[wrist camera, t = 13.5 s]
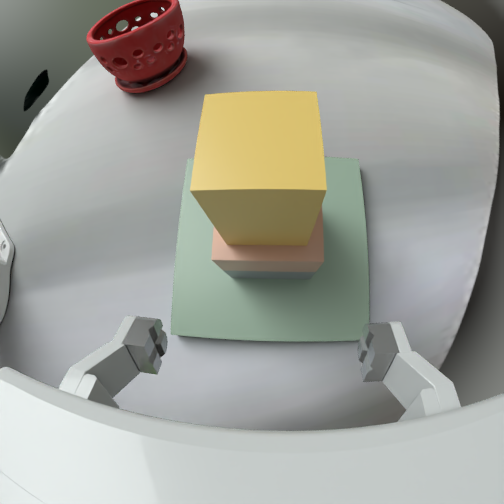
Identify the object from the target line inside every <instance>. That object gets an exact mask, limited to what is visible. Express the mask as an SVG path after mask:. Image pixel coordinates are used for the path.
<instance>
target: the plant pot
mask: <svg viewBox="0 0 504 504" xmlns="http://www.w3.org/2000/svg"><path fill="white" fill-rule="evenodd" d="M161 7H163V8H164V9H165V11H163V10H162V9H161ZM152 12H154V13H157V14H158V17H156V18H153V17H151V15H150V14H151V13H152ZM137 16H140V17H141V20H139V21H136V20H135V18H136V17H137ZM121 20H126V21H128V27H127V28H126V29H125V30H124V31H117V30H116V24H117V23H118V22H119V21H121ZM135 26H138V27H139V28H137V29H135V30H133V31H131V29H132V28H133V27H135ZM109 29H112V33H111V34H108V30H109ZM184 36H185V35H184V21H183V15H182V11H181V8H180V4H179V1H178V0H136V1H133V2H131V3H129V4H126V5H124V6H121V7H120V8H118V9H116V10H114V11H112V12H111V13H109V14H107V15H106V16H105V17H103V18H102V19H101V20H99V21H98V22H97V23H96V24H95V25H94V26H93V27H92V28H91V30H90V31H89V32H88V34H87V42H88V45H89V47H90V48H91V50H92V52H93V54H94V55H95V57H96V58H97V59H98V61H99V62H100V63H101V65H102V66H103V67H104V68H105V69H106V70H107V71H108V72H110V73H111V74H112V75H114V76H115V82H116V85H117V86H118V87H119V88H120V89H121V90H123V91H126V92H130V93H141V92H146V91H150V90H153V89H156V88H158V87H160V86H162V85H164V84H166V83H167V82H169V81H170V80H172V79H173V78H174V77H175V76H176V75H177V74H178V73H179V72H180V71H181V70H182V68H183V67H184V65H185V63H186V61H187V52H186V49H185V48H184V47H183V45H184ZM101 37H102V38H103V40H100V38H101Z"/></svg>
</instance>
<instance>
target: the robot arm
mask: <svg viewBox="0 0 504 504" xmlns="http://www.w3.org/2000/svg"><path fill="white" fill-rule="evenodd" d="M13 255H14V245H13V243H12V242H11V240H10V238H9V236H8V234H7V233H6V231H5V229H4V227H3V225H2V223H1V221H0V323H1V321H2V319H3V316H4V314H5V310H6V307H7V302H8V296H9V285H10V267H11V263H12V259H13ZM162 326H163V325H162V322H161V320H160V319H154V318H146V317H139V316H138V317H137V316H130V315H128V316H126V317H125V318H124V320H123V322H122V324H121V325H120V327H119V329H118V331H117V333H116V334H115V336H114V338H113V340H112V342H108V343H106V344H105V345H103V346H101V347H100V348H98V349H97V350H95V351H94V352H92V353H91V354H89V355H88V356H86V357H85V358H83V359H82V360H80V361H79V362H77V363H76V364H74V365H73V366H71V367H70V368H69V370H68V372H67V373H66V375H65V377H64V379H63V381H62V383H61V385H60V386H59V388H58V389H57V388H55V387H52V386H50V385H47V384H45V383H42V382H40V381H38V380H35V379H33V378H31V377H29V376H27V375H24V374H22V373H20V372H18V371H16V370H14V369H12V368H10V367H3V368H1V369H0V504H504V393H502V394H499V395H496V396H494V397H491V398H488V399H485V400H483V401H479V402H476V403H473V404H470V405H467V406H464V407H461V405H460V403H459V399H458V396H457V393H456V391H455V388H454V385H453V383H452V382H451V381H450V380H449V379H448V378H447V377H446V376H444V375H443V374H442V373H441V372H439V371H438V370H437V369H436V368H435V367H434V366H432V365H431V364H430V363H429V362H428V361H426V360H425V359H424V358H423V357H421V356H420V355H419V354H418V353H417V352H415V351H412V350H411V347H410V345H409V342H408V339H407V337H406V334H405V331H404V329H403V326H402V324H401V322H400V321H399V322H384V323H369V324H365V325H364V326H363V329H362V332H363V336H362V337H360V339H359V343H358V358H359V361H361V362H362V363H363V364H362V367H361V373H362V378H363V382H373V381H382V382H383V383H384V384H385V385H386V387H387V388H388V389H389V390H390V391H391V392H392V394H393V395H394V396H395V397H396V398H397V399H398V401H399V402H400V403H401V404H402V405H403V406H404V408H405V409H406V412H405V413H404V414H403V415H402V417H401V418H400V419H399V420H398V422H394V423H388V424H381V425H374V426H366V427H357V428H347V429H334V430H314V431H266V430H247V429H233V428H222V427H213V426H205V425H197V424H191V423H184V422H178V421H172V420H167V419H162V418H157V417H152V416H147V415H143V414H138V413H134V412H130V411H126V410H122V409H119V406H118V405H117V403H116V402H115V401H114V400H113V397H114V396H115V395H116V394H117V393H119V392H120V391H121V390H122V389H123V388H124V387H125V386H126V385H127V384H128V383H129V382H131V381H132V380H133V379H134V378H135V377H136V376H137V375H138V374H139V373H140V372H144V373H151V374H158V372H159V369H160V366H161V363H162V361H161V359H160V357H162V356H163V355H164V354H165V352H166V350H167V342H168V341H167V336H166V333H165V332H164V331H163V330H162Z"/></svg>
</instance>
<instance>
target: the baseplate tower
mask: <svg viewBox="0 0 504 504" xmlns="http://www.w3.org/2000/svg"><path fill="white" fill-rule="evenodd" d="M324 161H325V172H326V185H327V191H326V194H325V197H324V200H323V203H322V206H321V208H320V211H319V214H318V217H317V220H316V222H315V225H314V228H313V231H312V233H311V236H310V239H309V241H308V244H307V246H292V245H227V244H226V243H225V241H224V240H223V238H222V237H221V236H220V234H219V233H218V231H217V230H216V228H215V227H214V225H213V224H212V222H211V221H210V220H209V218H208V217H207V215H206V214H205V212H204V211H203V209H202V208H201V206H200V205H199V203H198V202H197V200H196V199H195V198H194V196H193V195H192V193H191V192H190V186H191V178H192V171H193V164H194V159H188V160H187V166H186V173H185V180H184V187H183V194H182V202H181V210H180V219H179V227H178V237H177V247H176V257H175V269H174V282H173V297H172V315H171V335H181V336H192V337H204V338H217V339H233V340H255V341H353V340H359V339H360V337H362V336H363V332H362V329H363V326H364V325H365V324H369V268H368V248H367V233H366V220H365V210H364V200H363V191H362V183H361V175H360V168H359V161H358V159H352V158H336V157H324Z"/></svg>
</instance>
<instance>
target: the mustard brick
mask: <svg viewBox="0 0 504 504" xmlns="http://www.w3.org/2000/svg"><path fill="white" fill-rule="evenodd" d="M326 191H327V185H326V172H325V161H324V150H323V140H322V131H321V123H320V115H319V107H318V100H317V93H316V92H309V91H249V92H230V93H217V94H206V95H205V97H204V103H203V108H202V114H201V120H200V125H199V131H198V138H197V144H196V150H195V157H194V164H193V171H192V178H191V186H190V192H191V193H192V195H193V196H194V198H195V199H196V200H197V202H198V203H199V205H200V206H201V208H202V209H203V211H204V212H205V214H206V215H207V217H208V218H209V220H210V221H211V222H212V224H213V225H214V227H215V228H216V230H217V231H218V233H219V234H220V236H221V237H222V238H223V240H224V241H225V243H226V244H227V245H292V246H307V244H308V241H309V239H310V236H311V233H312V231H313V228H314V225H315V222H316V220H317V217H318V214H319V211H320V208H321V206H322V203H323V200H324V197H325V194H326Z"/></svg>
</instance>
